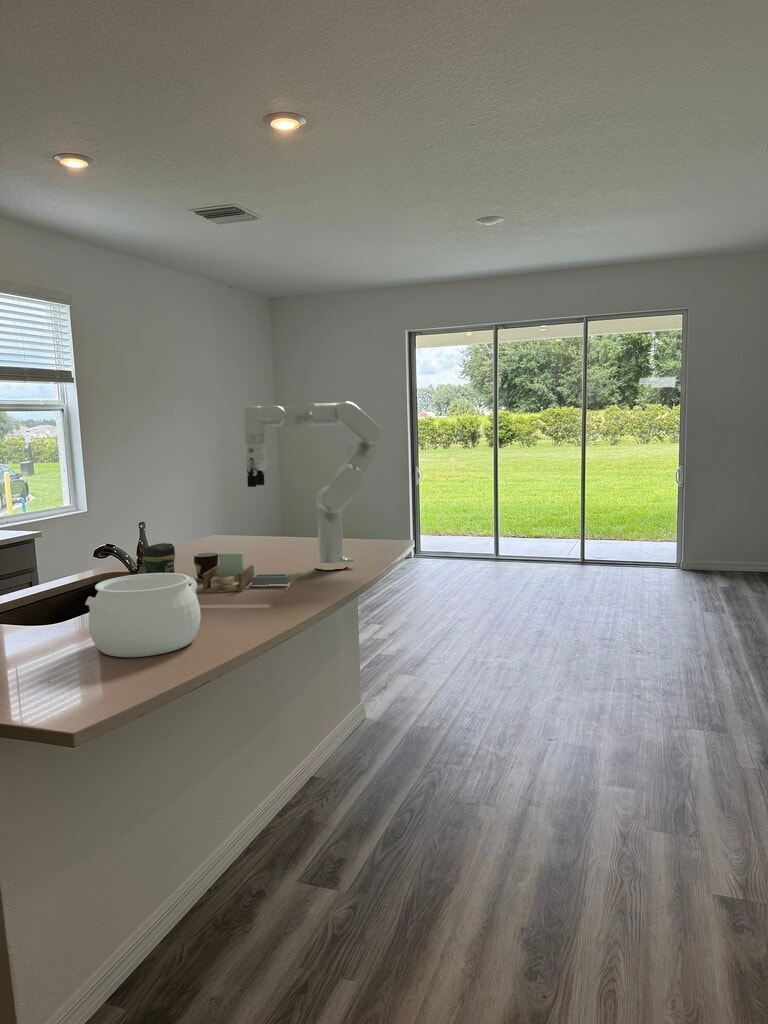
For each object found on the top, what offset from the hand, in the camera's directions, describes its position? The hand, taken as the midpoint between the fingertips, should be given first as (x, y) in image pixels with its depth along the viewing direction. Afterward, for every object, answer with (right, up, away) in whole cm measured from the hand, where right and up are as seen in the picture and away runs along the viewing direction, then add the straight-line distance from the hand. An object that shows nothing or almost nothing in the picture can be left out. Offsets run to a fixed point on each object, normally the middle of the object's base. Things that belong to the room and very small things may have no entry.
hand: (256, 485), depth 260 cm
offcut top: (-6, -34, -28) cm, 44 cm away
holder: (+9, -36, -23) cm, 44 cm away
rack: (-5, -36, -24) cm, 44 cm away
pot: (-12, -43, -85) cm, 96 cm away
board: (-4, -35, -21) cm, 41 cm away
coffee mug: (-16, -35, -8) cm, 39 cm away
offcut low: (-5, -36, -28) cm, 45 cm away
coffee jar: (-23, -38, -38) cm, 59 cm away
